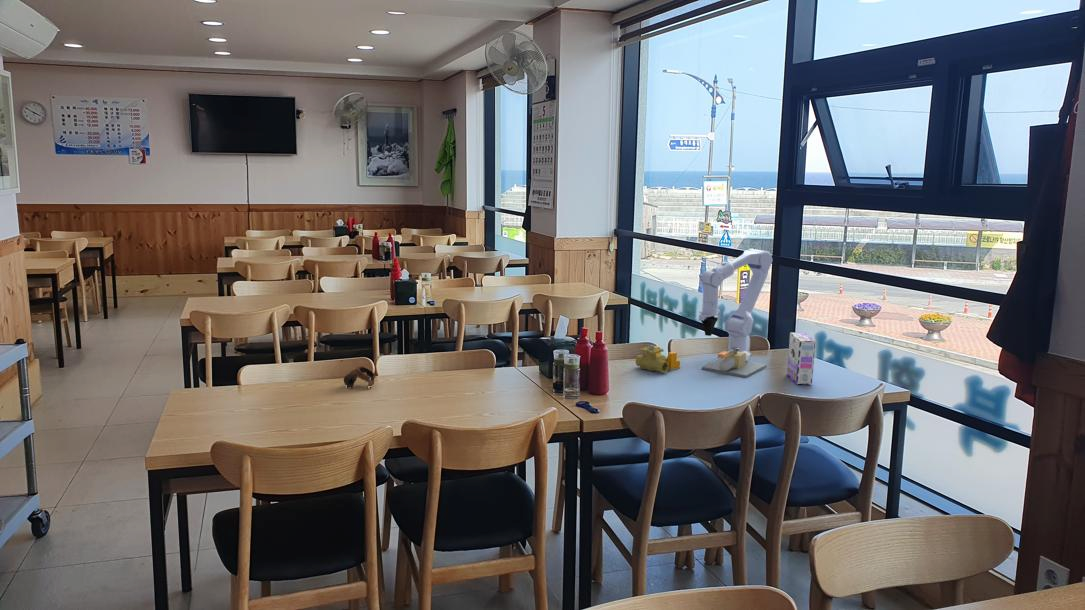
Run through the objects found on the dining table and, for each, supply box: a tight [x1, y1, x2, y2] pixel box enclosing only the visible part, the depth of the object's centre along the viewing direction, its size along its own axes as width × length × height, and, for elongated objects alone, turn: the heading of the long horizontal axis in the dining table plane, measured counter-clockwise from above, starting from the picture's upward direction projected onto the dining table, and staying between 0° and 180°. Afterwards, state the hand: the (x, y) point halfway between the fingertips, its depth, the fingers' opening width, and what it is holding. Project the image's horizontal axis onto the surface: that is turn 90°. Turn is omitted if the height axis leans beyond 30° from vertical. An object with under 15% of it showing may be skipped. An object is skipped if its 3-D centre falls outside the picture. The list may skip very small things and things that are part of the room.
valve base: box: [701, 351, 767, 379], centre depth 314 cm, size 19×18×7 cm
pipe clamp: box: [654, 345, 681, 370], centre depth 317 cm, size 12×4×6 cm, turn 32°
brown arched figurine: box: [343, 365, 376, 388], centre depth 283 cm, size 12×9×8 cm
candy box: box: [786, 332, 817, 386], centre depth 299 cm, size 14×6×16 cm, turn 178°
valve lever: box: [717, 347, 739, 359], centre depth 309 cm, size 14×3×1 cm, turn 142°
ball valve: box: [635, 344, 669, 374], centre depth 310 cm, size 13×10×10 cm
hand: (708, 335), depth 323 cm, fingers closed
